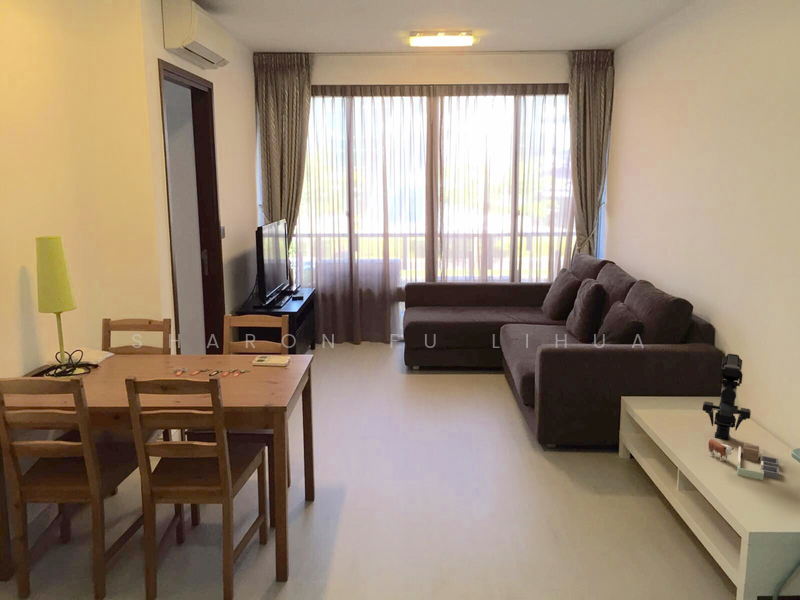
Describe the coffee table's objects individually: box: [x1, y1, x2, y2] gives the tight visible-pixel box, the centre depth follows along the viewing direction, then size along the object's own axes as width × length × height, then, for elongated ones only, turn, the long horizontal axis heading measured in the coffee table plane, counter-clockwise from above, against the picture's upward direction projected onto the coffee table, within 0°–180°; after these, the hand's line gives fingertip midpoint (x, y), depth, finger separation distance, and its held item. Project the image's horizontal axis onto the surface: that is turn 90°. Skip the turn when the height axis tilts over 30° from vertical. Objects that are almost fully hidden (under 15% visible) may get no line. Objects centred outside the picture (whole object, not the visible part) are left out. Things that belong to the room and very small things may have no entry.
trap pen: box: [736, 445, 780, 481], centre depth 277 cm, size 27×15×3 cm, turn 151°
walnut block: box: [742, 443, 760, 462], centre depth 286 cm, size 6×6×5 cm
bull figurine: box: [708, 438, 735, 463], centre depth 283 cm, size 4×13×8 cm, turn 15°
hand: (723, 428), depth 281 cm, fingers open, 9 cm apart
